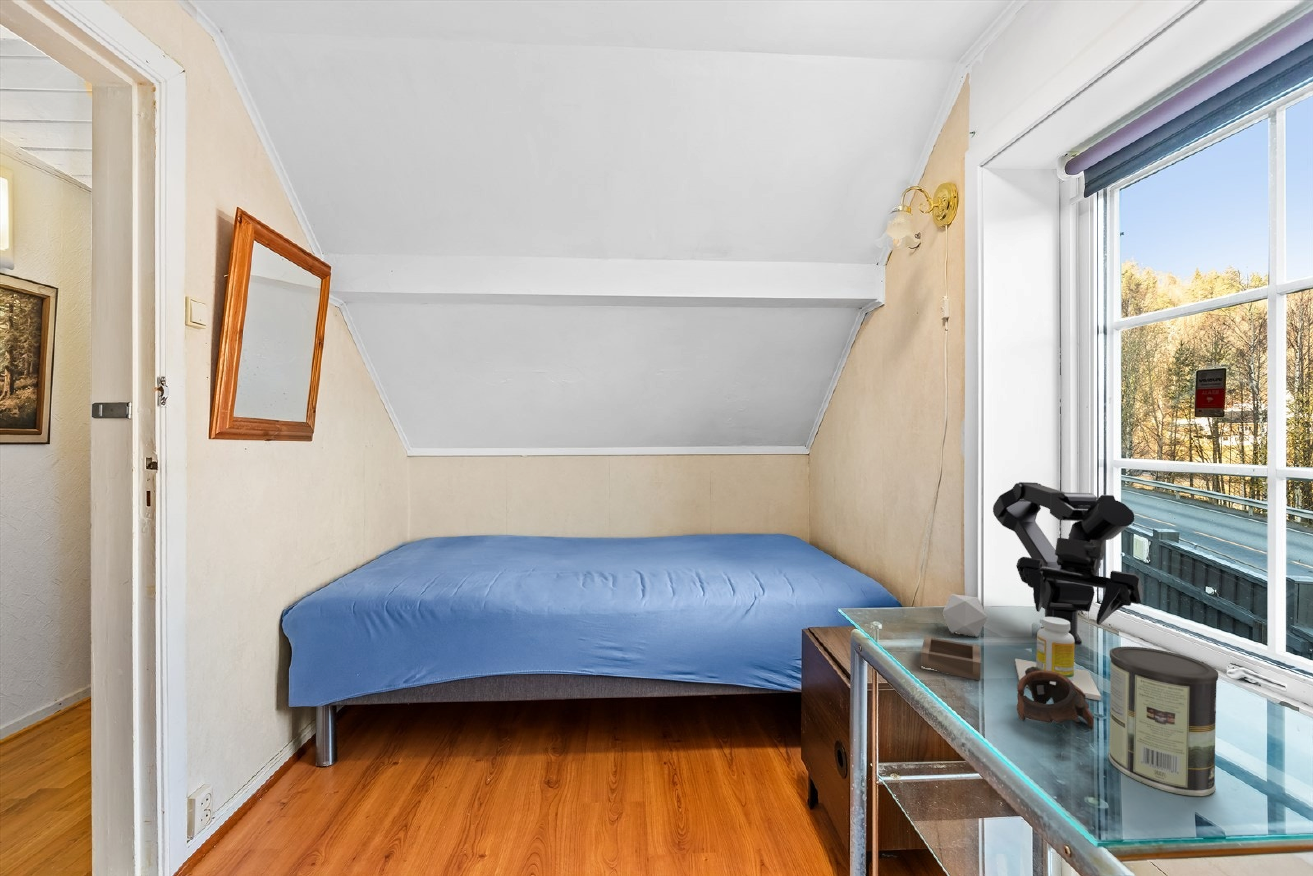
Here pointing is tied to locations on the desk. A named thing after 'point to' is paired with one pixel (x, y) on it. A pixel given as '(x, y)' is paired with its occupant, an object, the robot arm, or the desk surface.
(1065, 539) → the robot arm
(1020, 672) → the off-white coaster
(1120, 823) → the desk surface
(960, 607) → the die
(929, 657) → the walnut holder
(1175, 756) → the coffee can
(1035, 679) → the broken brown clay pot
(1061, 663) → the supplement bottle
